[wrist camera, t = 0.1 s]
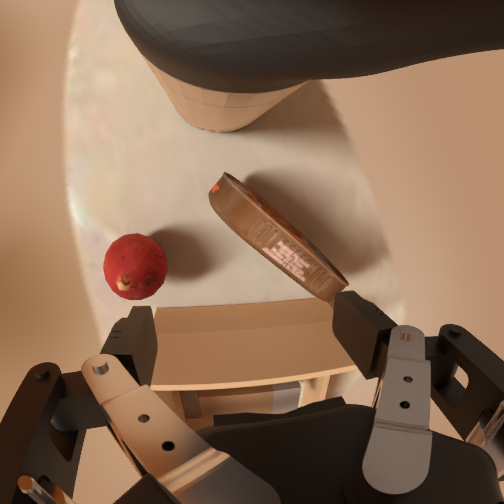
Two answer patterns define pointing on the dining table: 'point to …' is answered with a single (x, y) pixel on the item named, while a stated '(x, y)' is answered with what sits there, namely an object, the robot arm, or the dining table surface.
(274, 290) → the dining table surface
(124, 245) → the onion
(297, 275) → the tin
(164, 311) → the carton
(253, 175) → the dining table surface
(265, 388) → the box
